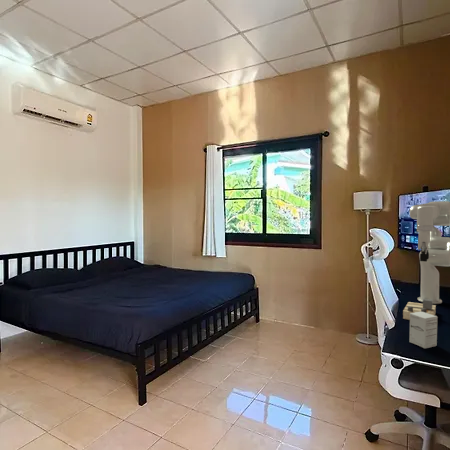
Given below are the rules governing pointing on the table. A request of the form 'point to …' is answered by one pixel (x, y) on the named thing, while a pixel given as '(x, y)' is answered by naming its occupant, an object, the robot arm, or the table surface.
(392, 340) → the table surface
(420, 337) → the supplement box
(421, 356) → the table surface
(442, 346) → the table surface
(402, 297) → the table surface
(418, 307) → the fader console
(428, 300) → the fader tab
